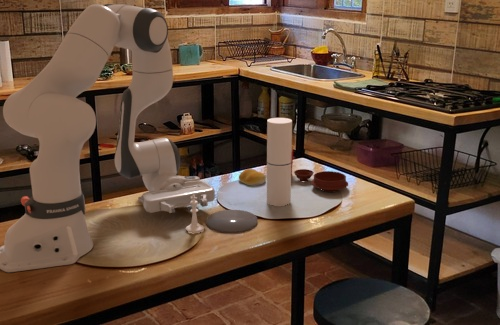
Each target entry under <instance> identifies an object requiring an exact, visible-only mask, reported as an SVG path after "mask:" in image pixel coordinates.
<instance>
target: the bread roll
mask: <svg viewBox="0 0 500 325" xmlns="http://www.w3.org/2000/svg"><path fill="white" fill-rule="evenodd" d="M238 180H239V181H240V182H241V183H243V184H244V185H247V186H260V185H259V184H261V185H263V184H265V183H266V182H267V176H266V175H265V173H263V172H262V171H261V172H260V171H258V170H256V169H253V168H247V169H244V170H243V171H242V172H240V173H239V175H238Z"/></svg>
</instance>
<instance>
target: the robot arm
mask: <svg viewBox="0 0 500 325" xmlns="http://www.w3.org/2000/svg"><path fill="white" fill-rule="evenodd" d="M168 26H169V25H168V22H167V19H166V18H165V16H164V15H163V13H161V12H160V11H158V10H156V9H154V8H151V7H150V8H149V7H145V8H144V7H140V6H136V5H131V4H123V3H122V4H119V3H118V4H113V3H106V4H95V3H94V4H91V5H88V6H87V7H86V8H85V9H83V11H82V12H81V13H80V14H79V15H78V16H77V18H76V19H75V20H74V22H73V23H72V25H71V26H70V28H69V30H68V31H67V32H66V33H65V35H64V37H63V39H62V40H61V43H60V44H59V46H58V48H57V50H55V53H54V55H53V56H52V58H51V59H50V60H49V61H48V63H47V65H45V67H44V68H43V69H42V70H41V71H40V72H39V73H38V74H36V75H35V77H34V78H33V79H32V80H30V81H29V83H27V84H26V85H25V86H24V87H22V88H20V89H19V90H17V91H15V92H13V93H12V94H10V95H9V96H8V97H7V98H6V100H5V102H4V104H3V108H2V115H3V119H4V121H5V123H6V124H7V125H8V127H10V128H11V129H13V130H14V131H16V132H18V133H20V134H21V135H24V136H27V137H31V138H35V139H37V140H38V143H39V149H38V154H37V158H35V159H34V160H33V161H32V162H31V163H30V166H29V177H30V184H31V192H32V196H31V197H29V196H28V195H27V196H26V195H24V196H22V197H21V198H20V202H21V205H22V206H23V207H24V210H25V213H24V215H22V216H21V217H20V218H19V219H18V220H17V221H16V222H14V223H13V224H12V225H11V226H9V228H8V229H7V231H6V232H5V235H4V236H5V237H4V244H3V245H1V246H0V270H1V271H2V272H6V273H14V272H21V271H29V270H30V271H31V270H37V269H44V268H51V267H60V266H69V265H73V264H75V263H76V262H78V260H79V259H80V258H81V257H83V256H84V255H86V254H88V253H89V252H90V251H91V250H92V249H93V247H94V241H93V239H92V237H91V234H90V232H89V228H88V225H87V221H86V217H85V214H86V203H85V196H84V192H83V191H82V186H81V175H80V159H81V153H82V150H83V147H84V144H85V143H86V142H87V141H88V140H90V138H91V137H92V135H93V134H94V132H95V129H96V125H97V117H96V113H95V111H94V109H93V108H92V106H91V105H90V104H88V103H87V102H84V101H83V100H81V99H78V96H79V95H81V94H82V93H83V92H86V91H88V90H89V89H92V87H93V86H94V85H95V84H96V82H97V80H98V79H99V77H100V75H101V74H102V71H103V70H104V67H105V65H106V63H107V62H108V60H109V58H110V56H111V54H112V52H113V50H114V47H117V48H121V49H125V50H130V51H131V64H132V75H131V76H132V77H131V81H130V83H129V86H128V88H126V89H125V90H124V91H123V93H122V95H121V98H120V100H121V101H120V106H119V107H120V108H119V119H118V131H117V140H116V148H115V153H114V166H115V170H116V172H117V173H118V174H119V175H120V176H122V177H124V178H126V179H128V180H132V179H134V178H135V179H136V178H138V177H141V176H142V181H143V185H144V186H145V188H146V189H147V192H144V193H143V194H142V195H140V196H138V197H137V201H138V202H140V203H142V205H143V208H144V210H145V212H146V213H157V212H168V213H169V214H171V213H175V212H176V209H177V208H183V207H184V208H185V207H188V206H189V207H190V206H191V204H190V202H191V201H193V199H190V197H193V195H195V197H197V199H195V201H197V202H198V204H197V205H199V204H200V206H201V207H202V208H205V207H208V205H209V202H210V203H211V202H213V201H214V200H215V199H216V192H215V188H214V187H213V186H212V185H211V184H209V183H208V182H206V181H205V180H204V181H203V180H201V179H200V177H199V176H196V175H195V176H194V175H193V176H192V175H191V176H183V175H177V174H178V173H179V171H180V168H181V155H180V151H179V148H178V147H177V145H176V144H175V142H174V141H173V140H172V139H170V138H168V137H161V138H154V139H150V140H144V141H140V142H135V135H136V127H137V126H136V124H137V119H138V116H139V115H140V113H141V112H143V111H144V110H145V109H146V108H148V107H149V106H151V105H153V104H155V103H157V102H158V101H159V102H160V101H161V100H163V98H165V96H167V95H168V94H169V92H170V91H171V90H172V87H173V82H174V72H173V71H174V69H173V58H172V52H171V46H170V42H169V39H168V38H169V37H168V35H169V34H168V33H169V27H168Z"/></svg>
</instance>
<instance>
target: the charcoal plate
mask: <svg viewBox="0 0 500 325" xmlns="http://www.w3.org/2000/svg"><path fill="white" fill-rule="evenodd" d="M257 225H258V217H257V215H256V214H255V213H252V212H250V211H248V210H242V209H224V210H219V211H216V212H212V213H211V214H208V216H207V217H206V226H207V227H208V228H209V229H211V230H213V231H215V232H218V233H219V232H220V233H226V234H227V233H228V234H236V233H243V232H247V231H250V230H252V229H254V228H255V227H257Z"/></svg>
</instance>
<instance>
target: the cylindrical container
mask: <svg viewBox="0 0 500 325" xmlns="http://www.w3.org/2000/svg"><path fill="white" fill-rule="evenodd" d="M266 125H267V127H266V203H267V205H269V204H270V206H272V205H274V207H284V206H285V205H286V206H288V205H290V204H291V196H292V195H291V194H292V188H291V187H292V175H291V154H292V147H293V120H292V119H291V118H287V117H272V118H268V119H267V122H266ZM289 203H290V204H289ZM287 204H288V205H287Z"/></svg>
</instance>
